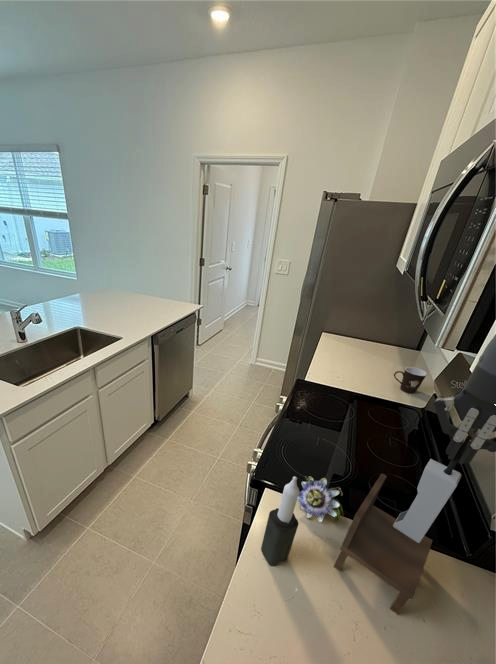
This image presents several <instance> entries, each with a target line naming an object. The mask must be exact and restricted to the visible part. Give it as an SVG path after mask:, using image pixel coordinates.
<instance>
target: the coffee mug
mask: <svg viewBox="0 0 496 664" xmlns="http://www.w3.org/2000/svg"><path fill="white" fill-rule="evenodd" d="M398 373H400V374H402V379H401V381H400V380H399V379H398V378H397V377H396V375H397V374H398ZM427 375H428V373H427V372H426V371H425V370H423V369H420V368H419V367H414V366H407V367H405V368H404V372H403V371H401V370H397V371H395V372H394V374H393V377H394V379H395V380H396V381H397V382H398V383H399V384H400V387H399V389H400V390H401V391H402V392H404V393H406V394H411V395H414V394H416V392H417V391H418V389H419V388H420V386H421V384H422V383H423V381H424V380H425V379H426V377H427Z"/></svg>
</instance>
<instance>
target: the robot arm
mask: <svg viewBox="0 0 496 664" xmlns="http://www.w3.org/2000/svg"><path fill="white" fill-rule="evenodd" d="M494 404H496V333H495V334H494V336H493V338H491V340H490V341H489V342H488V343H487V345H486V347H485V348H484V350H483V352H482V354H481V355H480V356H479V358H478V361H477V362H476V364H475V366H474V368H473V370H472V372H471V374H470V375H469V377H468V379H467V381H466V383H465V385H464V387H463V388H462V389H461V390H460V391H458V392H456V394H455V395H454V396H449V397H448V396H447V397H444V396H443V395H440V396H437V398H435V401H434V403H433V406H434V409H435V412H436V415H437V419H438V422H439V424H440V427H441V430H442V433H444V434H445V435H448V436H450V437H451V440H450V442H449V443H448V445H447V447H446V450H445V454H446V455H448V456H447V459H448V460H450V461H451V460H453V459H454V457H455V455H456V454H457V452H458V450H459V449H460V447H461V446H462V444H463V442H464V441H465V438H466V435H467V434H468V432H470V431H469V430H470V429H471V427H473V428H474V427H475V428H477V431H476V432H475V434H474V435H473V437H472V438H471V440H470V441H469V443H468V445H467V446H466V448H465V449H464V451H463V453H462V454H461V456H460V458H459V460H458V462H457V464H460V465H462V466H463V465H464V464H465V463H466V464H469V463H471V462H472V461H473V459H474V458H475V456H476V454H477V453H478V451H480V450H485V451H488V452H489V453H496V436H494V437H491V438H489V437H490V436H491V434H492V433H495V432H496V406H495V405H494ZM453 405H454V406H455V409H456V412H457V415H458V417H459V419H460V420H461V421H460V423H459V425H458V427H457V426H456V425H455V424H454V421H453V418H452V414H451V410H452V408H453Z"/></svg>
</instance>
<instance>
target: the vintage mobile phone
mask: <svg viewBox="0 0 496 664" xmlns="http://www.w3.org/2000/svg"><path fill="white" fill-rule="evenodd" d="M472 439H473V437H472V436H471V435H467V436H465V438H464V441H463V444H462V446H461V447H460V449H459V450H458V452H457V454H456V455H455V457H454V459H453V460H451V459H450V461H449V463H448V465H447V466H446V465H445V464H443V463H440V462H439V461H436V460H434V459H433V458H430V459H429V461H428V462H427V464H426V465H425V467H424V470H423V472H422V475H421V476H420V480H419V482H418V485H417V486H416V487H417V494H416V496H415V498H414V500H413V501H412V503H411V505H410V506H409V508H408V509H407V510H405V511H403V512H400V513H399V515H398V516H397V518H395V519H396V521H395V523H394V525H393V527H394V528H396V529H397V530H399V531H400V532H402V533H403V534H405V535H406V536H408V537H410V538H411V539H413V540H414V541H416V542H417V543H420V541H421V540H422V538H423V537H424V536H426V534H427V532H428V531H429V529H430V528H431V527H432V525H433V524H434V522H435V521H436V519H437V517H438V516H439V514H440V512H441V511H442V509H443V508H444V506H445V505H446V504H447V502H448V501H449V499H450V497H451V496H452V494H453V493H454V491H455V490H456V488H457V487H458V484H459V482H460V480H461V478H462V474H461V472H459V471H457V470H455V467H456V466H457V464H458V460H459V458H460V456H461V454H462V453H463V451H464V449H465V448H466V446H467V445H468V443H469V441H472Z"/></svg>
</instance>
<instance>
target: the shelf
mask: <svg viewBox="0 0 496 664" xmlns="http://www.w3.org/2000/svg"><path fill="white" fill-rule="evenodd" d="M387 477H388V476H387V475H386V474H385V473H380V475H379V477H378V478H377V480H376V481H375V482H374V485H373V486H372V488H371V489H370V491H369V492H368V494H367V495H366V497H365V499H364V500H363V502H362V503H361V505H360V507H359V508H358V510H357V511H356V513H355V514H354V517H353V518H352V521H351V523H350V524H349V525H350V526H349V528H348V530H347V532H346V535H345V537H344V538H343V541H342V543H341V546H340V548H339V550H340V551H339V554H338V556H337V558H336V560H335V562H334V565H333V567H334V568H335V569H337V570H338V571H339V572H340V571H341V570H342V568H343V567H344V565H345V563H346V560H347V559H348V557H350V558H351V559H352V560H354V561H355V562H357V563H358V564H359V565H361V566H363V567H364V568H365V569H367V570H368V571H369V572H371V573H372V574H374V575H375V576H377V577H378V578H379V579H381V580H382V581H384V582H385V583H386V584H388V585H389V586H391V587H392V588H393V589H395V590H396V591H398V592H399V593H398V594H397V595H396V597H395V598H394V600H393V601H392V603H391V605H390V606H389V607H390V608H389V610H390V611H392V612H394V614H396V615H399V614H400V612H401V611H402V610H403V608H404V607H405V606H406V605H407V603H408V601H409V600H410V601H411V600H413V598H414V597H415V596H416V591H417V589H418V587H419V583H420V580H421V576H422V575H423V571H424V568H425V565H426V563H427V559H428V556H429V553H430V549H431V547H432V544H433V539H431V538H429V537H428V536H426V535H424V537H423V538H422V540H421V541H420V543H417V542H416V541H414V540H413V539H411V538H410V537H408V536H406V535H405V534H403V533H402V532H400V531H399V530H397V529H396V528H394V527H393V525H394V523H395V521H396V519H397V518H395V517H394V516H392V515H390V514H389V513H387V512H385V511H384V510H382V509H381V508H378V507H377V506H375V505H374V504H375V502H376V500H377V499H378V496H379V494H380V492H381V490H382V487H383V485H384V483H385V481H386V479H387Z"/></svg>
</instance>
